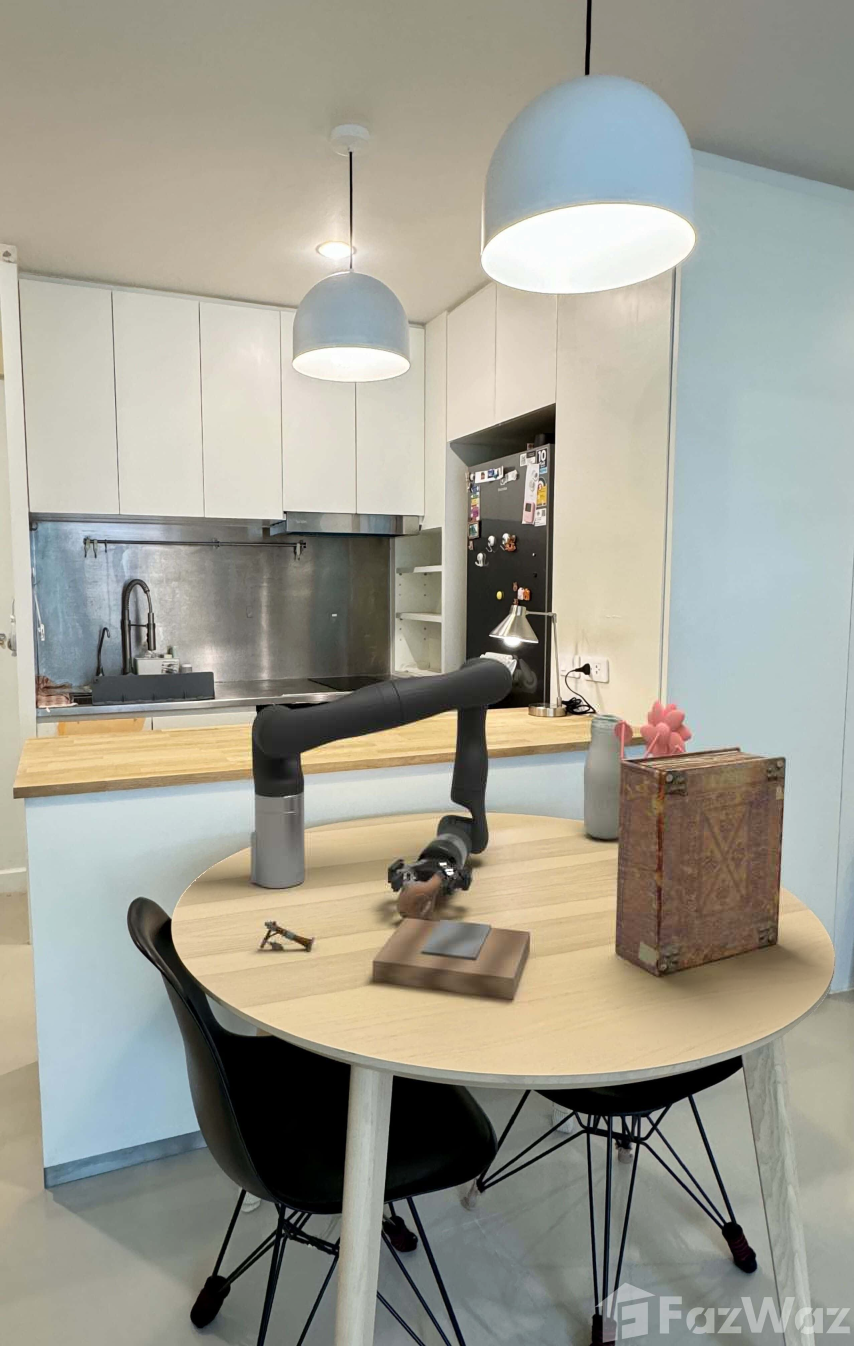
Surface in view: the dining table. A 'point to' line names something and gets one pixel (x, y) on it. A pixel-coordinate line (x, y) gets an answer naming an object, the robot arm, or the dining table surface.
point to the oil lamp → (419, 897)
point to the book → (698, 857)
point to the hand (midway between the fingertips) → (419, 889)
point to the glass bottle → (603, 779)
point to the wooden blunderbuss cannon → (287, 934)
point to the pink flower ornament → (658, 731)
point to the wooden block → (454, 957)
